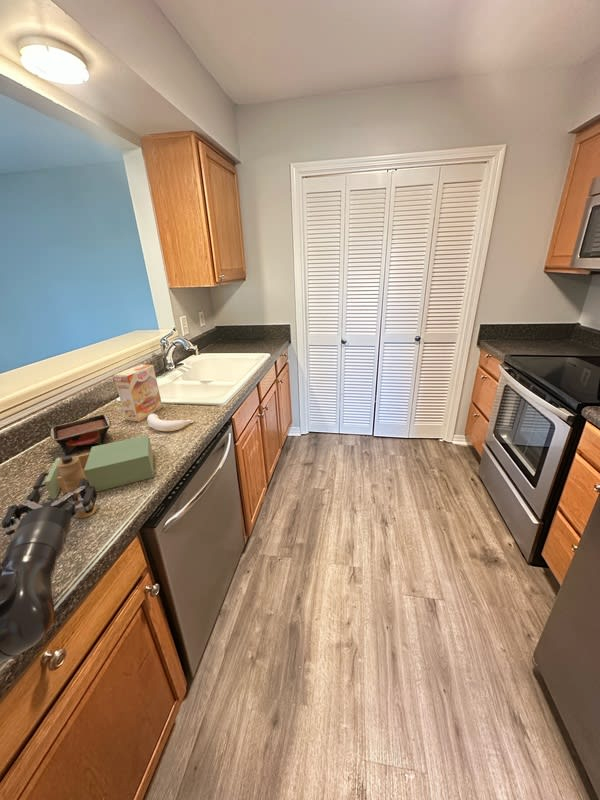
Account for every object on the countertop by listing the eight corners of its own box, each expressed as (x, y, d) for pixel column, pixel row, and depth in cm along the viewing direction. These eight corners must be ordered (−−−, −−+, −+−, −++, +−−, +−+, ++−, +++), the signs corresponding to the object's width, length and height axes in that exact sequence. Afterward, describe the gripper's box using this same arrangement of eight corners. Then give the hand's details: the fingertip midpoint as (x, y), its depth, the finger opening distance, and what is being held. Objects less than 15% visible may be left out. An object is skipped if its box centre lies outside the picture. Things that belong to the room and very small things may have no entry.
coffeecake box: (139, 421, 130) (127, 375, 122) (124, 420, 132) (112, 374, 124) (163, 407, 143) (154, 364, 135) (150, 405, 145) (140, 363, 137)
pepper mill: (74, 520, 79) (52, 464, 73) (78, 509, 82) (57, 455, 76) (95, 514, 80) (75, 459, 74) (97, 504, 84) (79, 451, 78)
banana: (141, 422, 129) (177, 411, 138) (160, 440, 116) (198, 426, 125) (139, 411, 127) (175, 400, 136) (157, 428, 114) (196, 415, 123)
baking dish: (113, 450, 114) (111, 423, 111) (50, 459, 104) (45, 430, 102) (111, 436, 125) (109, 412, 123) (54, 444, 116) (50, 417, 114)
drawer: (33, 503, 84) (25, 486, 82) (46, 477, 95) (40, 461, 93) (113, 483, 90) (107, 467, 88) (116, 461, 101) (112, 446, 99)
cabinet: (91, 493, 88) (83, 470, 86) (98, 467, 100) (91, 446, 97) (153, 477, 94) (148, 455, 91) (153, 454, 106) (148, 434, 103)
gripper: (80, 510, 56) (94, 463, 70) (-24, 538, 51) (13, 482, 65) (93, 542, 59) (103, 491, 73) (-4, 572, 54) (27, 511, 68)
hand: (61, 487), depth 69 cm, fingers open, 8 cm apart
